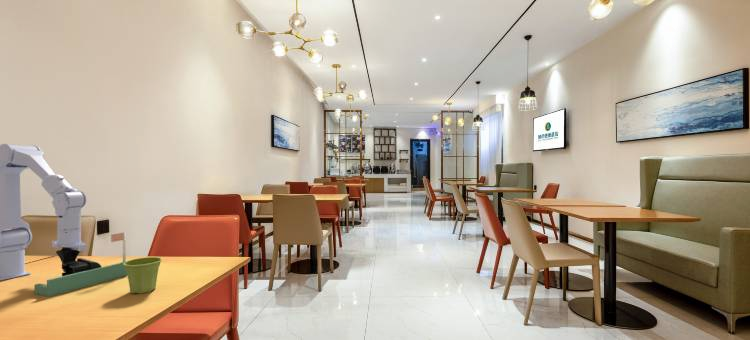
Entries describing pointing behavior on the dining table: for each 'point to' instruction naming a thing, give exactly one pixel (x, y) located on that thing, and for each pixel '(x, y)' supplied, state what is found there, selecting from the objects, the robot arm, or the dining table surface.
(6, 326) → the dining table surface
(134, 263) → the plant pot
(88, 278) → the putting pocket
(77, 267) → the black plastic holder
